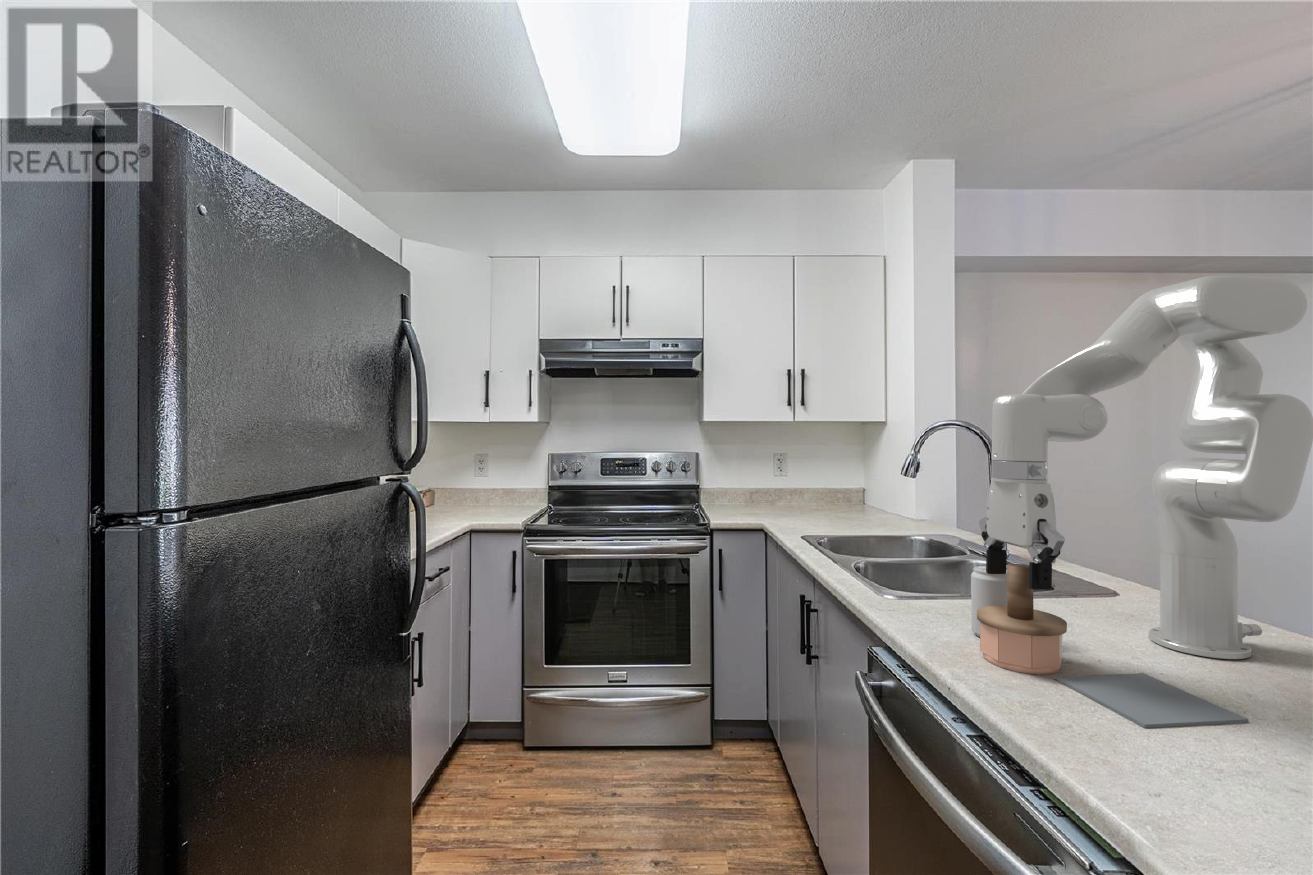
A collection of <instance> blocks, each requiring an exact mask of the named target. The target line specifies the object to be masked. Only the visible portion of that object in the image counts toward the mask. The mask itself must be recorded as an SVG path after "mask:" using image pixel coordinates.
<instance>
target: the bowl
mask: <svg viewBox="0 0 1313 875" xmlns="http://www.w3.org/2000/svg"><path fill="white" fill-rule="evenodd" d="M979 640H980V641H979V645H980V646H979V647H980V648H979V651H980V652H981V653H982V656H983V659H984V660H986V662H989V663H990V664H992V665H994V666H996V667H1000V668H1003V669H1005V670H1009V671H1012V672H1017V673H1020V674H1021V673H1022V674H1029V675H1040V676H1041V675H1042V676H1043V675H1054V674H1056V673H1058V672H1060V671H1061V668H1062V661H1063V634H1062V635H1056V636H1032V635H1023V634H1017V633H1011V632H1007V631H1002V630H999V629H995V628H992V627H990V626H987V625H985V624H983V623H981V622H980V637H979Z"/></svg>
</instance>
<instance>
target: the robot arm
mask: <svg viewBox="0 0 1313 875" xmlns="http://www.w3.org/2000/svg"><path fill="white" fill-rule="evenodd" d="M1307 310H1308V299H1307V296H1306V293H1305V292H1304V290H1303V289H1302V288H1301V286H1299V285H1298V284H1296V283H1294V282H1293V281H1290V280H1288V279H1285V278H1281V277H1271V276H1270V277H1269V276H1250V275H1248V276H1247V275H1228V274H1227V275H1221V274H1219V275H1209V276H1208V275H1207V276H1203V277H1198V278H1193V279H1190V280H1186V281H1182V282H1178V283H1173V284H1170V285H1165V286H1162V287H1157V288H1154V289H1151V290H1150V291H1146V292H1145V293H1143V294H1142V295H1140V296H1139V297H1138V298H1137V299H1135V300H1134V301H1133V302H1132V303H1131V304H1130V305H1129V306H1128V308H1127V309H1125V310H1124V311H1123V313H1121V314H1120V315H1119V316H1118V318H1117V319H1116V320H1115V321H1114V322H1112V324H1111V325H1110V326H1109V327H1108V328H1107V329H1106V330H1105V331H1104V332H1103V333H1102V334H1101V335H1100V336H1099V337H1098V338H1097V339H1096V340H1095V341H1094V342H1093V343H1092V344H1091V345H1089V346H1087V347H1086V348H1083V349H1082V350H1080V351H1077V353H1075V354H1072V355H1071V356H1070V357H1068V358H1067V359H1065V360H1063V361H1062V362H1060V363H1058V364H1057V365H1055V366H1054V367H1052V368H1050V369H1048V370H1047V371H1046V372H1044V373H1043V374H1042V375H1040V376H1038V377H1037V378H1036V379H1035V380H1034V381H1033V382H1032V383H1031V384H1030V385H1028V387H1027V388H1026V389H1025V390H1024V391H1023V392H1021V393H1015V394H1004V395H999V396H998V397H996V398H995V399H994V400H993V403H992V412H991V413H992V416H991V417H992V418H991V468H990V470H991V472H990V473H991V476H990V477H991V478H990V480H991V481H990V484H989V490H988V495H987V496H988V498H987V505H986V507H987V508H986V516H984V517H983V518H981V519H980V520H978V525H979V528H980V531H981V538H982V540H983V541H984V543H983V547H984V549H985V550H986V553H985V556H986V557H985V566H986V573H988V574H1006V569H1007V560H1008V559H1007V557H1008V555H1007V554H1008V553H1007V549H1005V547H1006V545H1007V544H1008V545H1011V546H1012V545H1013V546H1016V547H1020V548H1024V549H1025V548H1026V550H1027V552H1028V554H1029V555H1030V558H1031V560H1032V561H1029V562H1028V563H1029V564H1028V565H1029V588H1030V589H1033V591H1034V590H1035V591H1037V590H1039V591H1041V590H1042V591H1043V590H1045V591H1046V590H1051V589H1052V587H1053V564H1056V562H1057V558H1058V557H1059V556H1060V555H1061V550H1062V548H1063V546H1064V544H1065V542H1066V538H1065V537H1064V535H1062V534H1061V533H1060V532H1058V530H1057V517H1056V515H1057V514H1056V505H1055V499H1054V493H1053V489H1052V485H1051V483H1048V471H1049V468H1048V467H1049V466H1048V463H1049V462H1048V460H1049V459H1048V456H1049V454H1048V452H1049V451H1048V450H1049V443H1048V442H1060V443H1061V442H1062V443H1065V442H1066V443H1079V442H1084V441H1088V440H1091V439H1094V438H1096V437H1097V436H1098V435H1101V433H1102V432H1103V431H1104V430H1105V428H1106V426H1107V424H1108V420H1109V416H1108V411H1107V408H1106V406H1105V404H1103V403H1102V402H1101V400H1099V399H1097V398H1095V397H1093V396H1092V395H1095V394H1098V393H1101V392H1104V391H1107V390H1111V389H1114V388H1116V387H1119V386H1120V387H1121V386H1122V385H1125V384H1127V383H1130V382H1132V381H1134V380H1137V379H1139V378H1140V377H1141V376H1143V375H1145V374H1146V372H1148V371H1149V370H1150V368H1151V367H1152V366H1153V365H1154V364H1155V363H1156V362H1157V361H1158V360H1159V359H1160V357H1161V356H1163V355H1164V354H1165V352H1166V351H1167V350H1168V349H1169V348H1170V347H1171V346H1172V345H1173V344H1174V343H1175V342H1176V341H1178V342H1179V343H1180V345H1181V346H1182V348H1183V349H1184V350H1185V352H1186V354H1187V356H1188V358H1189V360H1190V362H1191V365H1192V371H1193V372H1192V377H1191V382H1190V387H1189V390H1188V395H1187V397H1186V401H1185V405H1184V408H1183V412H1182V414H1181V415H1182V416H1181V419H1180V424H1179V430H1178V431H1179V432H1178V436H1179V440H1180V442H1181V443H1182V444H1183V446H1185V447H1186V448H1188V449H1190V450H1191V451H1196V452H1199V453H1208V454H1228V455H1229V454H1232V455H1234V454H1235V455H1245V456H1244V459H1224V458H1207V457H1205V458H1204V457H1203V458H1202V457H1200V458H1199V457H1188V458H1187V457H1186V458H1176V459H1173V460H1169V461H1167V462H1164V463H1163V464H1161V465H1160V466H1158V468H1157V469H1156V470H1155V471H1154V473H1153V475H1152V479H1151V491H1152V496H1153V499H1154V500H1153V501H1154V503H1155V508H1156V510H1157V511H1156V512H1157V518H1158V525H1159V526H1158V528H1159V577H1160V578H1159V591H1160V592H1159V599H1160V601H1159V603H1160V605H1159V608H1160V610H1159V612H1160V614H1159V615H1160V618H1159V620H1160V624H1159V625H1160V626H1156V627H1152V628H1151V629H1149V630H1148V638H1149V640H1151V641H1152V642H1154V643H1156V644H1158V646H1162V647H1164V648H1167V649H1171V650H1173V651H1177V652H1181V653H1185V654H1189V655H1192V656H1193V655H1195V656H1199V657H1200V656H1201V657H1205V658H1212V659H1220V660H1222V659H1223V660H1245V659H1249V658H1250V657H1251V656H1252V648H1251V647H1250V645H1249V644H1247V643H1245V642H1244V641H1243V639H1244V638H1245V637H1246V636H1247V637H1257V636H1261V635H1262V634H1263V629H1262V628H1261V626H1260V625H1259V624H1257V623H1243V622H1240V621H1239V616H1238V615H1239V612H1238V610H1239V606H1238V604H1239V603H1238V602H1239V601H1238V600H1239V599H1238V598H1239V597H1238V593H1239V592H1238V588H1239V587H1238V578H1239V577H1238V576H1239V575H1238V569H1239V568H1238V558H1239V556H1238V549H1239V548H1238V543H1237V540H1236V537H1235V535H1234V534H1233V531H1232V529H1231V528H1230V527H1229V526H1228V524H1227V522H1226V521H1225V520H1224V519H1228V520H1237V521H1243V522H1253V523H1272V522H1277V521H1280V520H1283V519H1284V518H1285V517H1287V516H1288V515H1289V514H1290V513H1291V512H1292V510H1293V509H1294V507H1295V505H1296V503H1297V501H1298V497H1299V494H1300V490H1301V487H1302V484H1303V479H1304V477H1305V472H1306V469H1307V464H1308V461H1309V458H1310V454H1311V450H1312V447H1313V413H1312V412H1311V410H1310V408H1309V407H1308V405H1307V404H1306V403H1305V402H1304V401H1302V400H1301V399H1300V398H1297V397H1296V396H1292V395H1289V394H1280V393H1266V394H1265V393H1264V394H1263V393H1262V394H1260V392H1261V387H1262V386H1261V385H1262V383H1263V376H1264V373H1263V372H1264V371H1263V367H1262V365H1261V363H1260V361H1259V360H1258V358H1256V356H1255V355H1254V354H1253V353H1252V352H1251V351H1250V350H1248V348H1247V347H1246V346H1244V344H1242V343H1241V342H1240V341H1239V340H1241V339H1242V340H1243V339H1249V338H1256V337H1263V336H1270V335H1276V334H1281V333H1284V332H1287V331H1289V330H1291V329H1293V328H1295V327H1296V326H1297V325H1298V324H1299V323H1300V322H1301V321H1302V320H1303V318H1304V317H1305V315H1306V313H1307ZM1038 550H1040V552H1039V551H1038Z"/></svg>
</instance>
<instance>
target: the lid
mask: <svg viewBox="0 0 1313 875" xmlns="http://www.w3.org/2000/svg"><path fill="white" fill-rule="evenodd" d="M1006 569H1007V606H986V607H981V608H979V609H978V610H977V619H978V620H979V621H980V622H981V623H983V624H985V625H987V626H990V627H992V628H995V629H999V630H1002V631H1007V632H1011V633H1017V634H1023V635H1032V636H1056V635H1062V636H1063V635H1064V634H1066V633H1067V631H1068V623H1067V621H1066V620H1065V619H1063V618H1062V617H1061V616H1057V615H1056V614H1053V613H1050V612H1046V611H1042V610H1038V609H1034V608H1035V607H1034V590H1033V589H1030V588H1029V564H1025V563H1024V564H1023V563H1008V564H1007V565H1006Z"/></svg>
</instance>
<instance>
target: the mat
mask: <svg viewBox="0 0 1313 875" xmlns="http://www.w3.org/2000/svg"><path fill="white" fill-rule="evenodd" d="M1054 680H1055V681H1057V682H1058V683H1061V684H1063V685H1064V686H1066V687H1067V688H1070V689H1072V690H1074V691H1075V692H1077V693H1079V694H1081V695H1083V696H1084V697H1086V698H1088V699H1091V700H1092V701H1093V702H1095V703H1097V704H1099V705H1101V706H1103V707H1105V708H1107V709H1108V710H1110V711H1112V712H1114V713H1116V714H1117V715H1119V716H1122V717H1123V718H1125V719H1127V720H1129V721H1131V722H1133V723H1135V724H1137V725H1138V726H1139V727H1142V728H1144V729H1147V728H1148V729H1150V728H1166V727H1167V728H1168V727H1186V726H1190V727H1191V726H1205V725H1206V726H1207V725H1209V726H1210V725H1222V724H1224V725H1225V724H1241V723H1242V724H1246V723H1249V722H1250V719H1249V718H1247V717H1244V716H1242V715H1240V714H1238V713H1235V712H1233V711H1231V710H1229V709H1226V708H1225V707H1222V706H1219V705H1217V704H1216V703H1214V702H1210V701H1208V700H1206V699H1204V698H1201V697H1199V696H1197V695H1194V694H1192V693H1190V692H1188V691H1185V690H1184V689H1181V688H1179V687H1176V686H1174V685H1172V684H1169V683H1167V682H1165V681H1162V680H1161V679H1158V678H1156V677H1153V676H1151V675H1149V674H1147V673H1145V672H1134V673H1133V672H1132V673H1111V674H1110V673H1109V674H1090V675H1089V674H1087V675H1068V676H1067V675H1065V676H1063V675H1062V676H1054Z"/></svg>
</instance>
